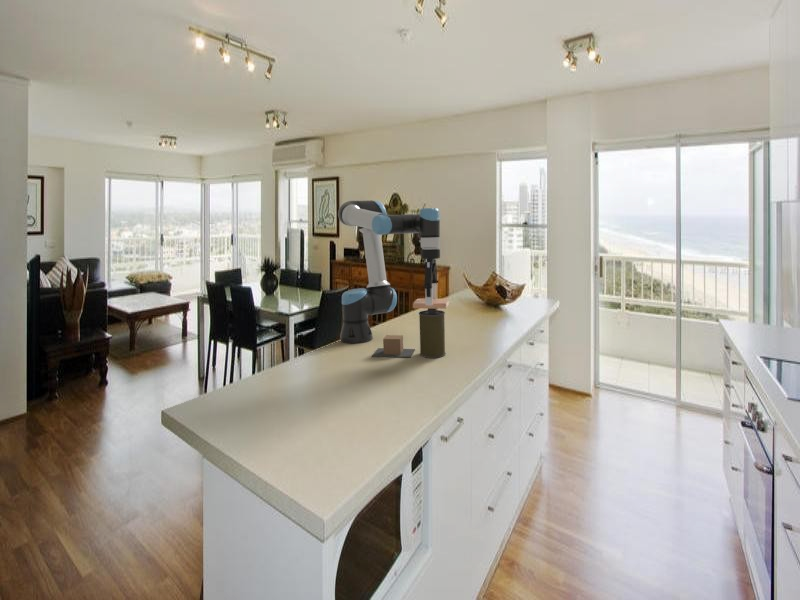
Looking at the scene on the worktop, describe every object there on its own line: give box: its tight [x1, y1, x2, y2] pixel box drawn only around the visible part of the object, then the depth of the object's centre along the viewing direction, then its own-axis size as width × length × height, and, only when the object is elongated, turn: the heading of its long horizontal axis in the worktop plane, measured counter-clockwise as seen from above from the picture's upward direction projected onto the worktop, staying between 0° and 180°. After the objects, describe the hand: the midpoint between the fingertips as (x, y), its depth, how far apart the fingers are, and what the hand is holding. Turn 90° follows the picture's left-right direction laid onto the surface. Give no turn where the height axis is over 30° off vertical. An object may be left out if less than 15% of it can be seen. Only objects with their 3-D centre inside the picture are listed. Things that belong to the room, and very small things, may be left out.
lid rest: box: [371, 334, 416, 359], centre depth 178 cm, size 16×11×7 cm
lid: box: [412, 298, 450, 310], centre depth 172 cm, size 13×11×2 cm
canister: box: [418, 308, 446, 359], centre depth 174 cm, size 11×10×20 cm
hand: (431, 302), depth 172 cm, fingers open, 13 cm apart
